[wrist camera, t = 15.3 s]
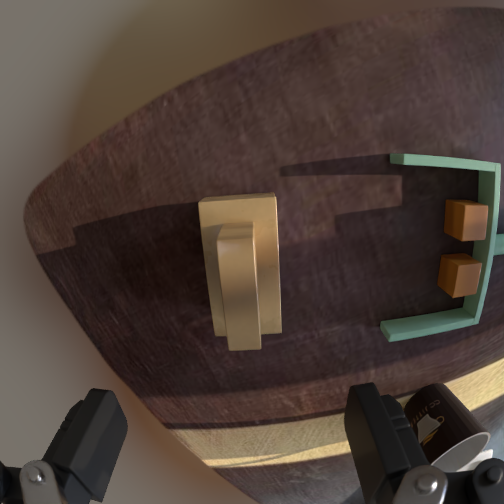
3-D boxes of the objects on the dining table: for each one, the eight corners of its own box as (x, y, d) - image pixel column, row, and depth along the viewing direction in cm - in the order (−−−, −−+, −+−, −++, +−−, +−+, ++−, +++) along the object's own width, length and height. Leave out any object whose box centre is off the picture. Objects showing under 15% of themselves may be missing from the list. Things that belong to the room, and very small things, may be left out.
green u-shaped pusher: (379, 328, 26) (388, 342, 24) (389, 153, 21) (403, 153, 19) (500, 304, 26) (512, 314, 23) (518, 166, 21) (534, 169, 18)
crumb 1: (443, 232, 23) (461, 241, 20) (445, 199, 22) (465, 205, 19) (466, 231, 23) (485, 240, 20) (468, 199, 22) (488, 205, 19)
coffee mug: (448, 364, 28) (490, 420, 18) (458, 398, 30) (490, 448, 20) (364, 416, 30) (387, 483, 20) (385, 443, 32) (405, 499, 22)
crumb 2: (436, 284, 25) (452, 298, 22) (440, 254, 24) (458, 265, 21) (459, 281, 25) (476, 294, 22) (464, 252, 24) (482, 263, 21)
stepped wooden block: (278, 310, 25) (286, 366, 18) (219, 314, 26) (207, 369, 18) (272, 190, 22) (281, 207, 15) (206, 195, 23) (183, 214, 15)
